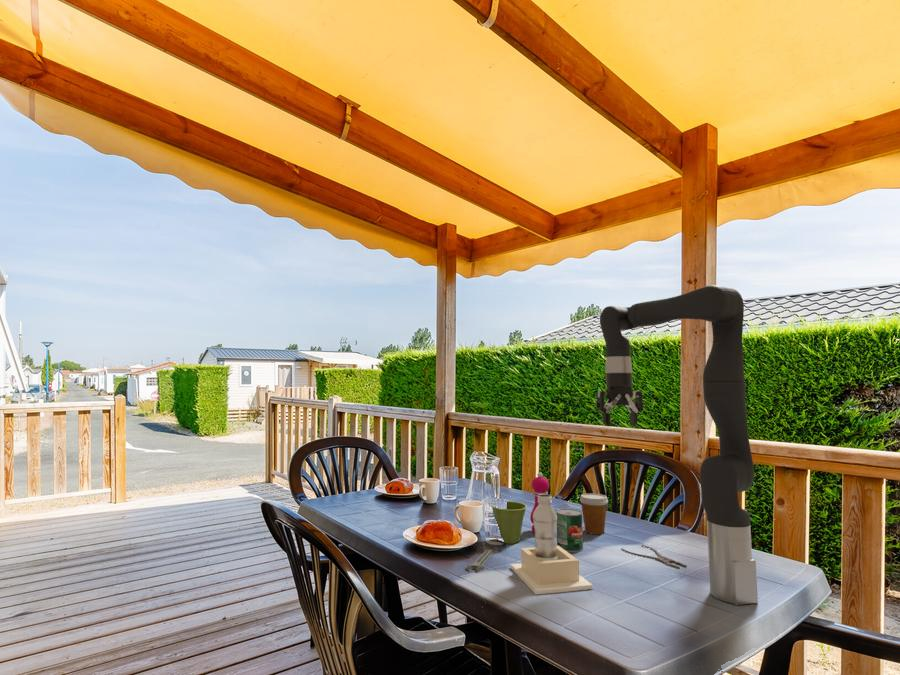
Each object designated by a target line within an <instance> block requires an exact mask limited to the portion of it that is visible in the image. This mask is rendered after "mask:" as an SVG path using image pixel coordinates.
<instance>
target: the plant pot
mask: <svg viewBox="0 0 900 675" xmlns="http://www.w3.org/2000/svg"><path fill="white" fill-rule="evenodd" d="M505 501H506V502H507V509H499V508H496V507H493V506H492V503H490V507H491V508H492V513H493V516H495V518H494V520H495V519H496V521H497V524H498V527H499V530H500V533H501V534H500V535H501V537H502V538H503V540H504V542H505V543H504V544H511V545H512V544H513V545H514V544H516V543H519V542H520V541H521V535H522V528H523V522H524V516H525V514H526V509H527V508H528V505H527V504H526V503H523V502H518V501H513V500H512V501H511V500H505Z"/></svg>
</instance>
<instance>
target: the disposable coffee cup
mask: <svg viewBox="0 0 900 675" xmlns="http://www.w3.org/2000/svg"><path fill="white" fill-rule="evenodd" d="M579 501H580V504H581V510H582V511H581V512H582V520H583V523H584V531H586V532H585V533H587V532H588V533H587V534H589V533H592V534H591V535H603V534H605V526H606V517H607V505H608V503H609V500H608V497H607V495H605V494H602V493H583V494H581V495H580V498H579ZM602 533H603V534H602Z"/></svg>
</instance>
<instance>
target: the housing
mask: <svg viewBox="0 0 900 675" xmlns="http://www.w3.org/2000/svg"><path fill="white" fill-rule="evenodd" d="M556 551H557V557H558V560H550V561H541V560H540V559H538V558H537V557H536V556H535V546H534V547H533V546H532V547H521V549H520V554H521V556H520V558H521V560H520V563H510V569H511V570H512V571H513V572H514V573H515V575H517V577H519V579H520V580H521V581H522V582H524V584H525V585H526V586H527V587H528V588H529V589H530V590H531V591H532V592H533V593H534V595H546V593H547V594H554V593H557V594H558V593H565V592H576V591H577V592H579V591H586V590H588V589H589V590H593V583H591V582H589V581H588V580H587V579H586V578H584V577H583V576H582V575H580V559H578V558H577V557H575V556H573V555H572V554H571V553H570V552H567V551H565V550H564V549H563V548H561V547H560V546H557V545H556Z"/></svg>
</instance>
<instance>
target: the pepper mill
mask: <svg viewBox="0 0 900 675" xmlns="http://www.w3.org/2000/svg"><path fill="white" fill-rule="evenodd" d="M531 488H532V490H533V491H532V492H533V495H532V496H534V497H533V498H534V504H533V508H532V510H531V513H530V516H529V518H530V519H529V520H530V522H531V523H532V526H531V532H532V533H534V534H535V529H534V522H533V513H534V511H535V509H536V507H537V506H538V505H539V503H538V495H540V494H548V493H549V492H548V490H549V488H550V482H549V480H548V479H547V478H545V477H543V473H542V472H538V473H537V477H534V478H533V479H532V481H531Z"/></svg>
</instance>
